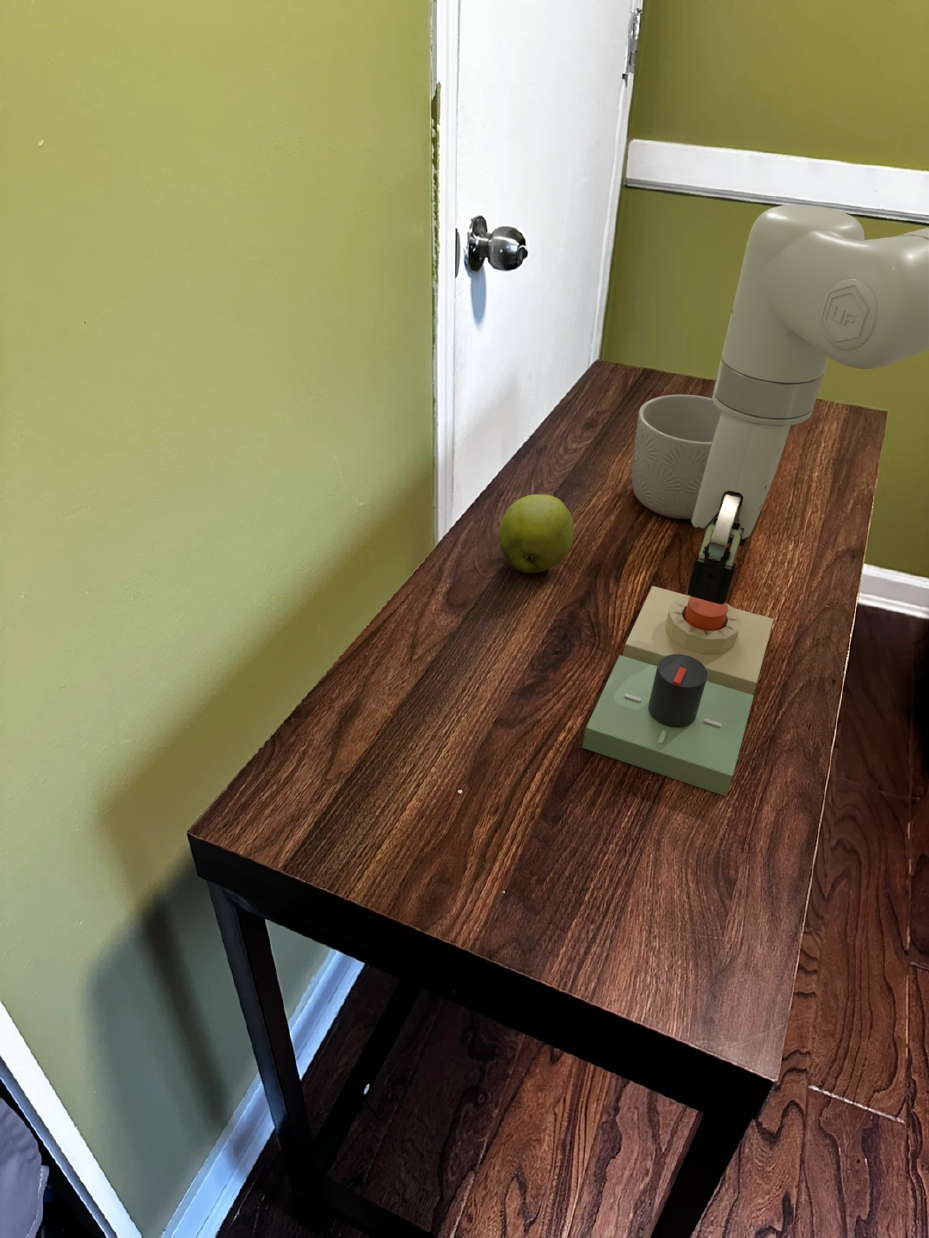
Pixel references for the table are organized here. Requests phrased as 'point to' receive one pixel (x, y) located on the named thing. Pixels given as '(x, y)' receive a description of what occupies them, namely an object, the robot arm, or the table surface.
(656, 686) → the dial
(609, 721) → the dial base
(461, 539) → the table surface
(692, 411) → the planter
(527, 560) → the apple
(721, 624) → the stop button
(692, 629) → the button base
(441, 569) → the table surface
